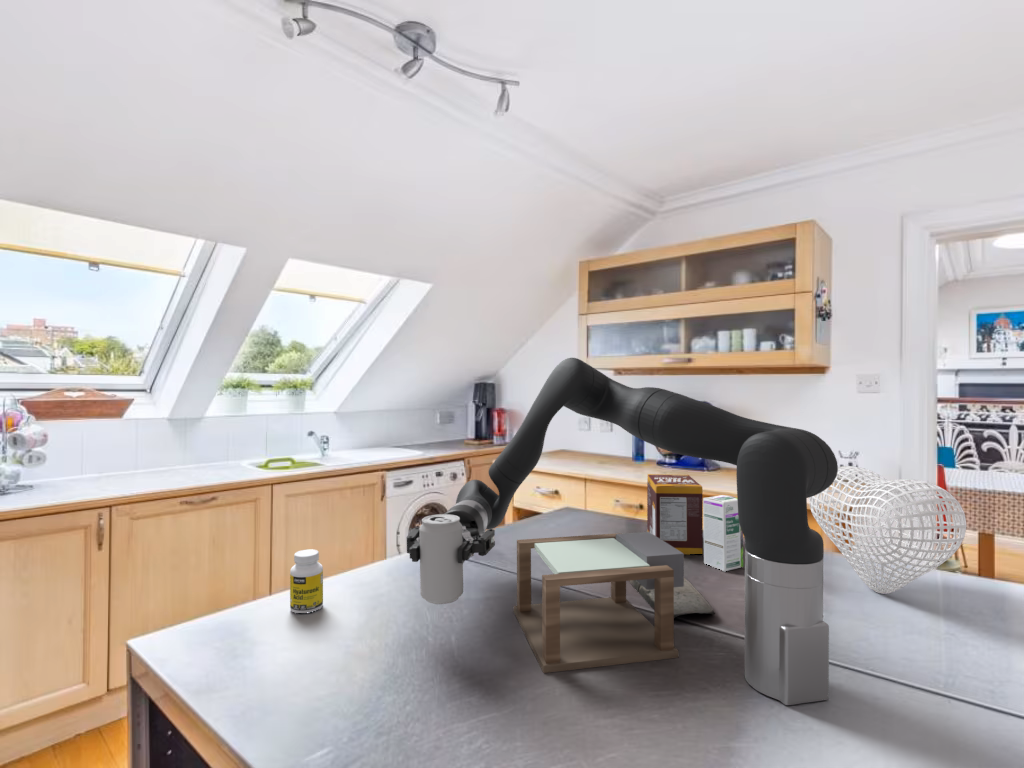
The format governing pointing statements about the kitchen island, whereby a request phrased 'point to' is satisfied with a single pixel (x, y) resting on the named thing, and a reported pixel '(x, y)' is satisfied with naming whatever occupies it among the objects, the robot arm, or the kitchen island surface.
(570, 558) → the trapdoor plate
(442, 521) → the beverage can
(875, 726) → the kitchen island surface
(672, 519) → the supplement box
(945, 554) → the heart
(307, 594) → the supplement bottle
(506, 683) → the kitchen island surface
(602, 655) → the wooden rack
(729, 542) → the syrup box
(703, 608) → the stone slab
